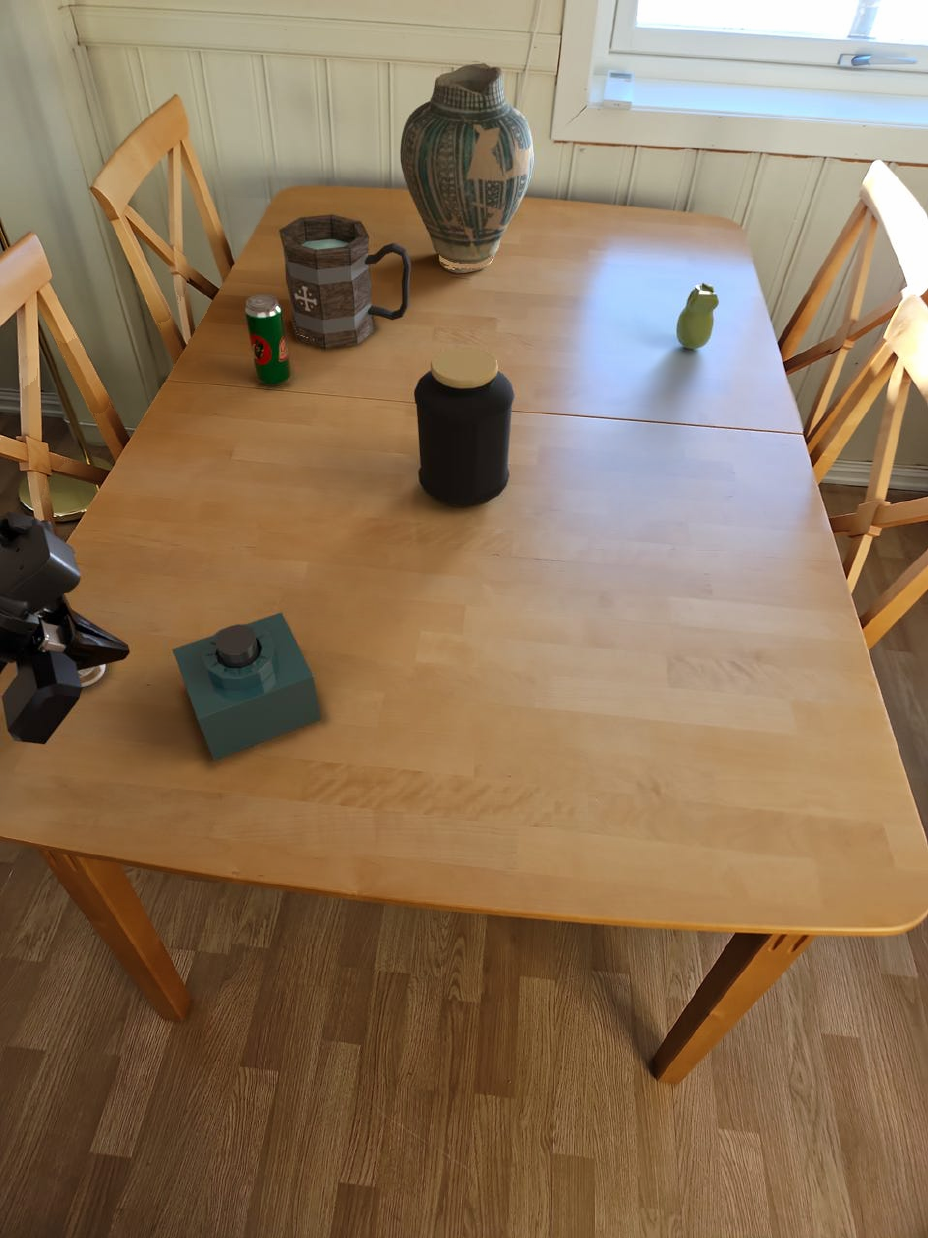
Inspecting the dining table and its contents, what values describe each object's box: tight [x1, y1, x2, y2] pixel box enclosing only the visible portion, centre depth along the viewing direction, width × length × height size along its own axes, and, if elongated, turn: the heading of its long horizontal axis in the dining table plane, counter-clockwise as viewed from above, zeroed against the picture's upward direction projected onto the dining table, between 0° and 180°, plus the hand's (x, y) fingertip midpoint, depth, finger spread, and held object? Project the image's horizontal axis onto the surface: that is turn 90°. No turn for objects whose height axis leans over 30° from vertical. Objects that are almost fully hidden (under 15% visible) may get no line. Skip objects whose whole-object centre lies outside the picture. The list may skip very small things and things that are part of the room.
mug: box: [278, 213, 412, 350], centre depth 127 cm, size 20×14×15 cm
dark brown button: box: [216, 624, 259, 668], centre depth 76 cm, size 4×4×2 cm
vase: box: [399, 62, 535, 274], centre depth 138 cm, size 22×22×30 cm
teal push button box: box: [172, 611, 322, 762], centre depth 80 cm, size 11×9×9 cm
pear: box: [675, 282, 720, 350], centre depth 128 cm, size 6×5×10 cm
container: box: [413, 345, 515, 508], centre depth 100 cm, size 12×12×18 cm
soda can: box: [244, 294, 292, 387], centre depth 118 cm, size 5×5×12 cm
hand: (126, 652), depth 70 cm, fingers closed
